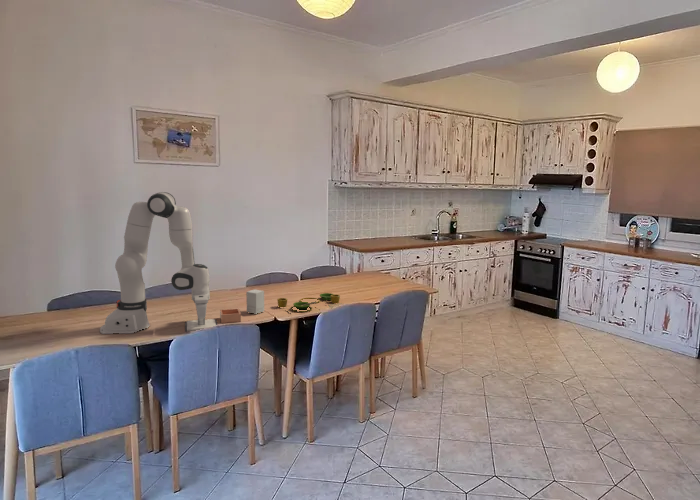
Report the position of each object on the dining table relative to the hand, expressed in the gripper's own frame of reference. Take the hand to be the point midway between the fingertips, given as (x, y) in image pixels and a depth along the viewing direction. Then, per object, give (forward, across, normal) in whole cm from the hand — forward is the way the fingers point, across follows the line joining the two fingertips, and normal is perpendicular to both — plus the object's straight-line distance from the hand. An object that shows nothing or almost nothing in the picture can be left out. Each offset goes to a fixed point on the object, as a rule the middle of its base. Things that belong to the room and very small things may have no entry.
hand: (201, 322), depth 238 cm
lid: (+2, 0, 0) cm, 2 cm away
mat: (+2, 0, 0) cm, 2 cm away
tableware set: (+3, -27, +65) cm, 70 cm away
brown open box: (+2, -6, +15) cm, 16 cm away
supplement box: (+2, -18, +30) cm, 35 cm away
